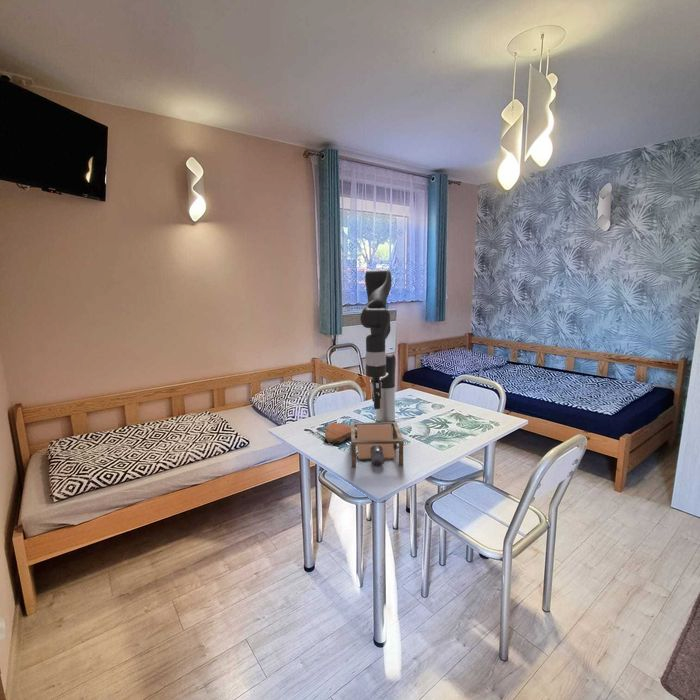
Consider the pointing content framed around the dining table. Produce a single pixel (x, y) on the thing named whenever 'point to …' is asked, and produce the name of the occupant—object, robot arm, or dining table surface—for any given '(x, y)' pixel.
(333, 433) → the reddish brown rock
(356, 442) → the trapdoor frame
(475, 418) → the dining table surface
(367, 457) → the trapdoor
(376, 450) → the cylinder
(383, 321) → the robot arm
